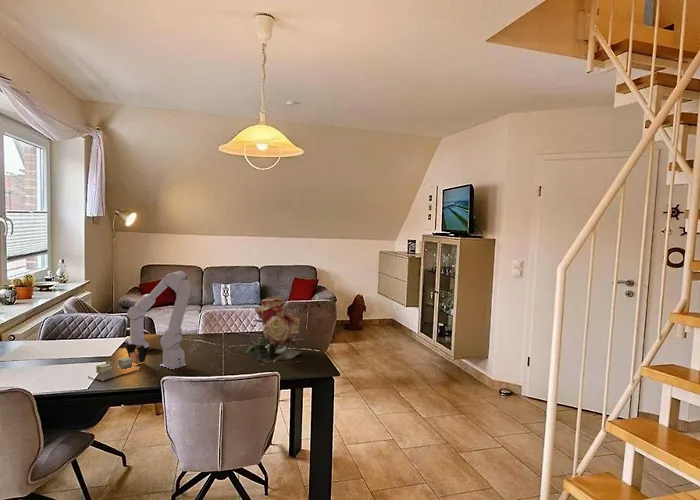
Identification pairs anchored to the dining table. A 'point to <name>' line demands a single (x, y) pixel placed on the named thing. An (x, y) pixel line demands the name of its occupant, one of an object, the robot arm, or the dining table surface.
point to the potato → (151, 340)
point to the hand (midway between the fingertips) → (137, 360)
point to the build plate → (122, 364)
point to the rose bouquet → (275, 331)
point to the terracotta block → (135, 357)
